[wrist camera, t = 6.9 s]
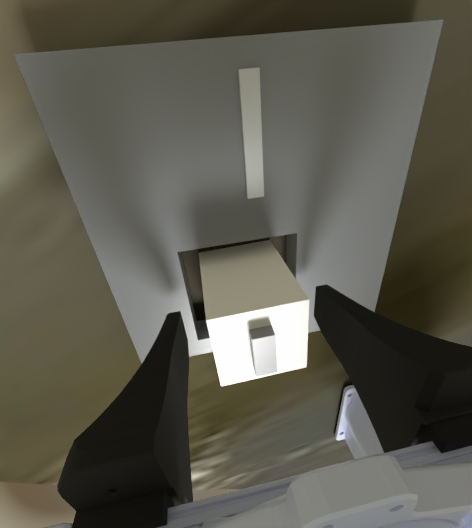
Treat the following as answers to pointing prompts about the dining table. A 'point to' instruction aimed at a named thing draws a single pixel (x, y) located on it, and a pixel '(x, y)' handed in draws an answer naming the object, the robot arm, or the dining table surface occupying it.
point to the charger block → (253, 312)
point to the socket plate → (236, 155)
